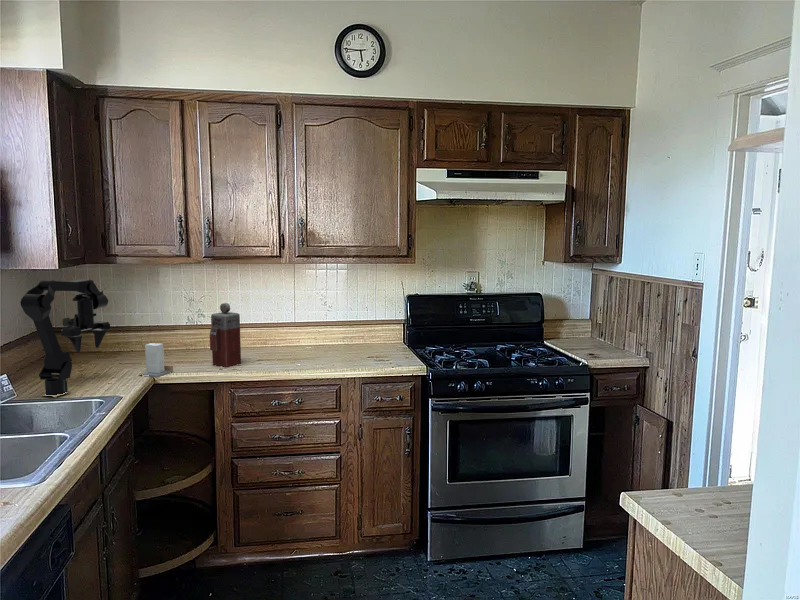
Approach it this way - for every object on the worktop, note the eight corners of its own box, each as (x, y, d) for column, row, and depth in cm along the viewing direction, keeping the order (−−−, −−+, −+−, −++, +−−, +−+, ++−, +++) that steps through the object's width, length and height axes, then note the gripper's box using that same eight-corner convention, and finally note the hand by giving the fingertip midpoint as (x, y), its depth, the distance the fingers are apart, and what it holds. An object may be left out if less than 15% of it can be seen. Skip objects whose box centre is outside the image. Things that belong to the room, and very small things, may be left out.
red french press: (208, 366, 256) (206, 304, 252) (227, 361, 265) (225, 301, 262) (222, 368, 251) (220, 305, 248) (241, 363, 261) (239, 302, 257)
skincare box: (165, 371, 243) (163, 343, 241) (158, 373, 239) (157, 345, 237) (152, 370, 244) (151, 342, 243) (145, 372, 240) (144, 344, 239)
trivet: (156, 377, 236) (156, 370, 235) (138, 375, 238) (138, 369, 238) (173, 371, 245) (172, 365, 245) (155, 370, 248) (155, 363, 248)
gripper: (88, 307, 236) (91, 344, 238) (48, 313, 218) (51, 353, 221) (110, 308, 233) (112, 345, 235) (71, 315, 215) (74, 355, 217)
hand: (87, 350), depth 227 cm, fingers open, 9 cm apart
